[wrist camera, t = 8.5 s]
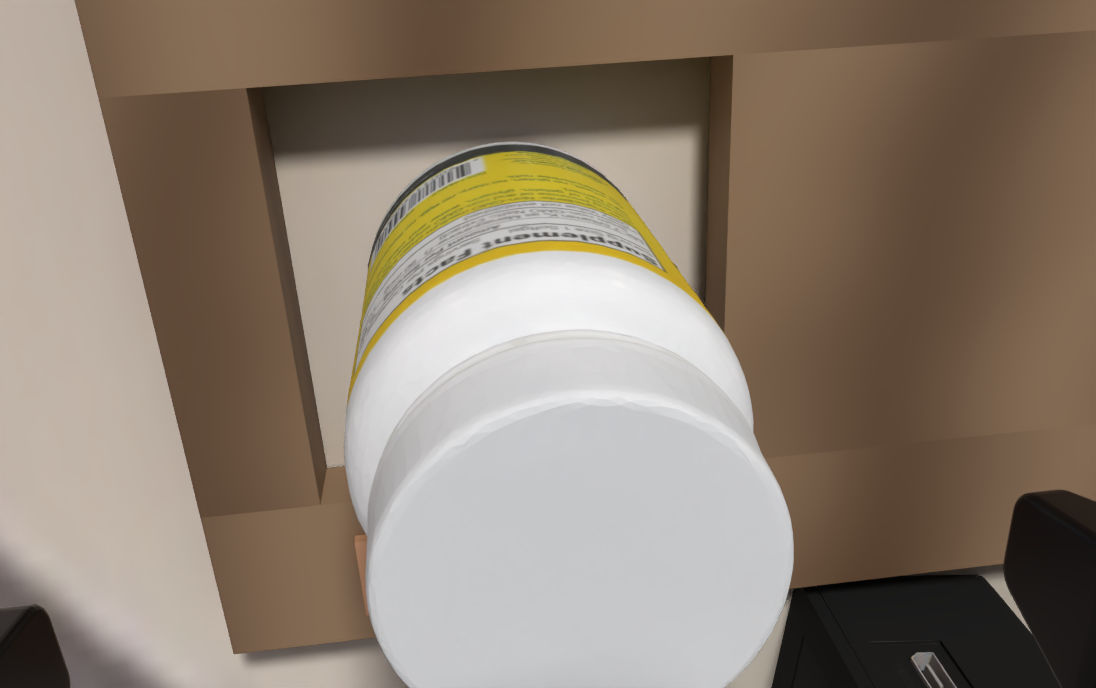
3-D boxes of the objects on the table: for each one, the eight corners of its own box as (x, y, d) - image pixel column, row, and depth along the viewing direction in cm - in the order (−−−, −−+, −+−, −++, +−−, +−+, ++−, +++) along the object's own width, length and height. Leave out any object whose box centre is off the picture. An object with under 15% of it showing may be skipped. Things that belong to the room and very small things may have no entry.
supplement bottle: (621, 407, 18) (769, 785, 10) (361, 388, 17) (308, 784, 9) (669, 150, 16) (899, 377, 8) (379, 116, 15) (330, 332, 7)
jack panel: (1756, -221, 15) (1876, -232, 14) (1464, 471, 21) (1533, 508, 19) (71, -141, 13) (34, -147, 12) (244, 610, 18) (231, 661, 17)
